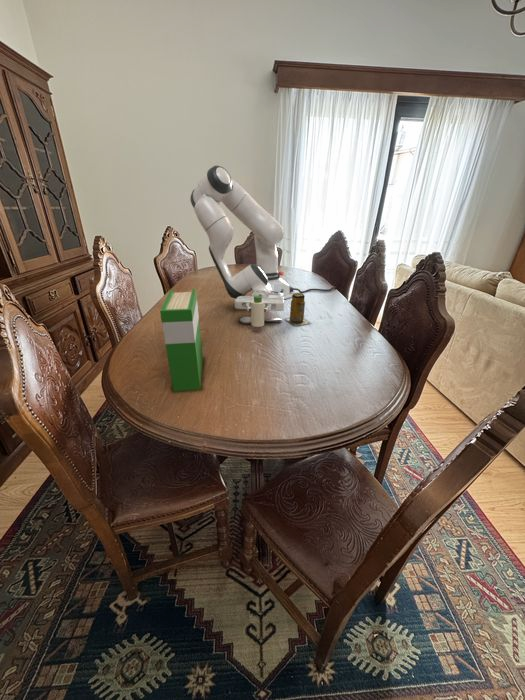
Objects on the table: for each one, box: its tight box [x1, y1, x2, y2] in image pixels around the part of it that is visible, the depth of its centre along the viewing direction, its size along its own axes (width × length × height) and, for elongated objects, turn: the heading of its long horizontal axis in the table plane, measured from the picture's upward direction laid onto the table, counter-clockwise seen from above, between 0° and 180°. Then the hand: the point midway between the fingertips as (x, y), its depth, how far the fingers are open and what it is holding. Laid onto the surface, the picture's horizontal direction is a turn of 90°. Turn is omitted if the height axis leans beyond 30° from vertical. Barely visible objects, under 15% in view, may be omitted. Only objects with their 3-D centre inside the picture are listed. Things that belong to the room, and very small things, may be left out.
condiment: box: [285, 292, 310, 326], centre depth 124 cm, size 7×8×12 cm
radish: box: [250, 295, 265, 328], centre depth 112 cm, size 5×5×12 cm
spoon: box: [239, 316, 283, 325], centre depth 125 cm, size 18×6×1 cm, turn 90°
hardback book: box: [159, 288, 204, 392], centre depth 83 cm, size 18×7×24 cm, turn 8°
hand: (257, 310), depth 111 cm, fingers closed on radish, 5 cm apart
